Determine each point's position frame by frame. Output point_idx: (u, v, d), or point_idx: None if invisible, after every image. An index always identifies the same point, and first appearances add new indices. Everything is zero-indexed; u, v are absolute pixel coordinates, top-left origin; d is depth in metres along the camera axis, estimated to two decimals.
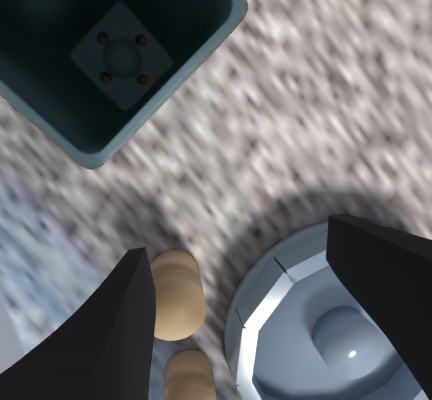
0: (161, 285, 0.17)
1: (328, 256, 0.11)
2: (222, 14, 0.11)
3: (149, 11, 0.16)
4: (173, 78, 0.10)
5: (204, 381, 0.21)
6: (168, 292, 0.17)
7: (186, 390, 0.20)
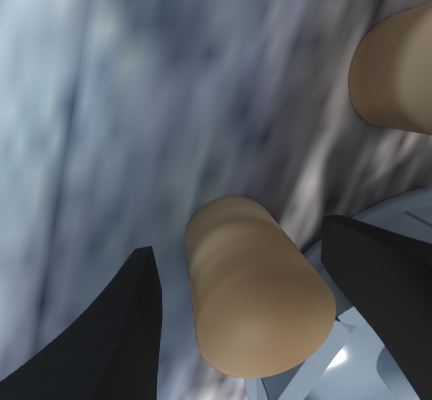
0: None
1: (323, 257, 0.11)
2: None
3: None
4: None
5: None
6: None
7: (301, 254, 0.08)
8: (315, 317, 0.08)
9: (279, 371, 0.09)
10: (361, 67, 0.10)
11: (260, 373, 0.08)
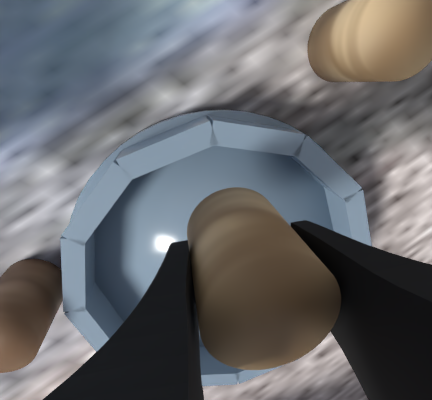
0: None
1: None
2: None
3: None
4: None
5: None
6: None
7: (303, 243, 0.08)
8: (320, 307, 0.08)
9: (285, 363, 0.08)
10: (329, 10, 0.15)
11: (265, 364, 0.08)
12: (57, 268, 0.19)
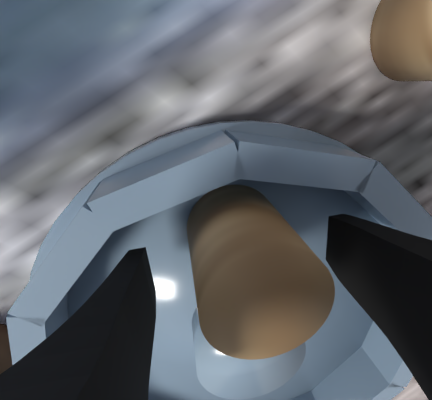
0: None
1: (328, 256, 0.11)
2: None
3: None
4: None
5: None
6: None
7: (300, 238, 0.09)
8: (315, 298, 0.08)
9: (281, 353, 0.09)
10: None
11: (263, 353, 0.09)
12: None
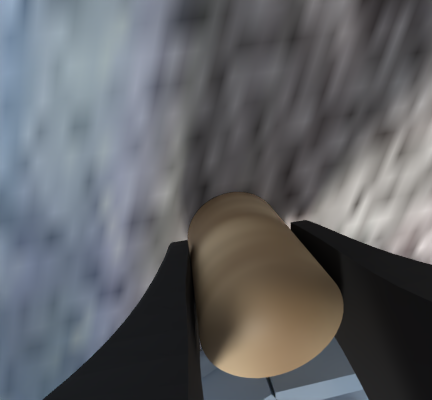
0: (321, 269, 0.07)
1: None
2: None
3: None
4: None
5: None
6: (314, 292, 0.07)
7: None
8: None
9: None
10: (189, 239, 0.11)
11: None
12: None
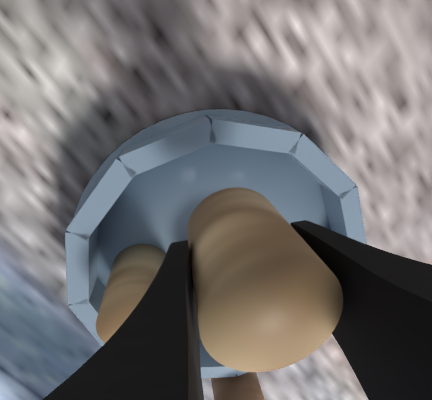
0: (317, 259, 0.07)
1: None
2: None
3: None
4: None
5: (128, 273, 0.16)
6: (312, 283, 0.07)
7: (106, 294, 0.15)
8: (128, 305, 0.14)
9: None
10: (188, 237, 0.11)
11: None
12: None
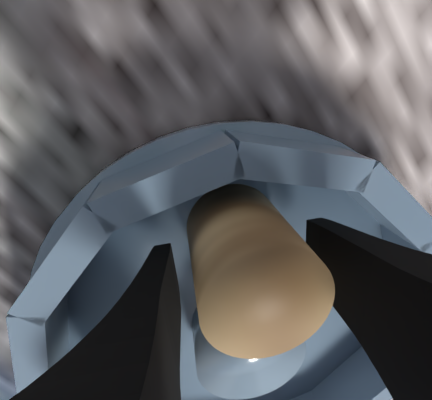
0: (310, 252, 0.08)
1: None
2: None
3: None
4: None
5: None
6: (305, 274, 0.08)
7: None
8: None
9: None
10: (187, 231, 0.11)
11: None
12: None
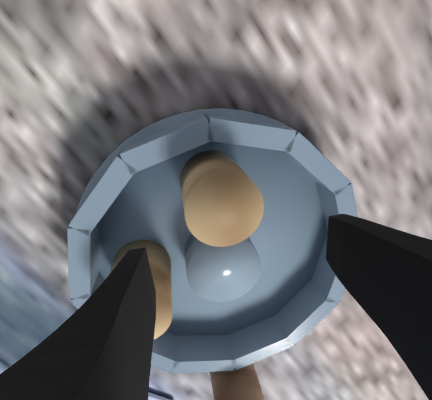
0: (247, 178, 0.13)
1: (329, 256, 0.11)
2: None
3: None
4: None
5: None
6: (245, 190, 0.14)
7: None
8: None
9: (170, 305, 0.16)
10: (180, 181, 0.17)
11: (168, 314, 0.16)
12: None
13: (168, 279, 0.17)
